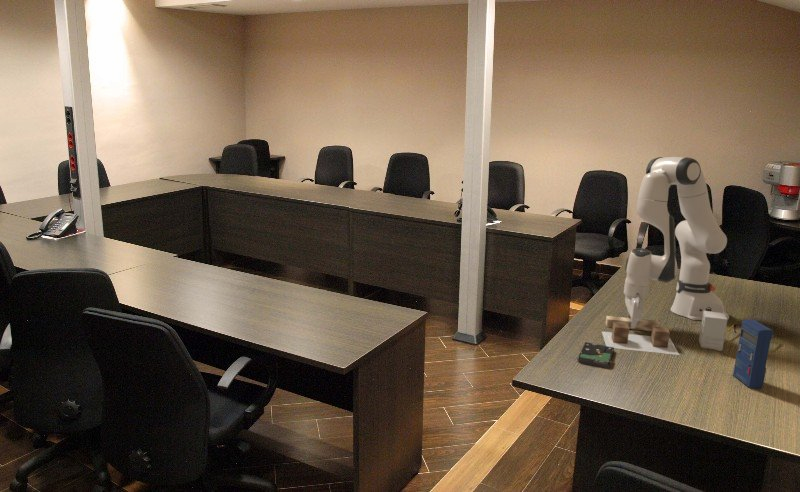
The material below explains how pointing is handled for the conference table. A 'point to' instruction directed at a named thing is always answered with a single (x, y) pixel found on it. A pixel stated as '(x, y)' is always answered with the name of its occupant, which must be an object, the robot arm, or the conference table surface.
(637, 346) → the board
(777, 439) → the conference table surface
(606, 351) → the disk drive
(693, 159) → the robot arm
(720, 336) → the supplement box
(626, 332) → the pillar
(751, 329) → the electronic device
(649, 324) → the plank
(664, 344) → the pillar
